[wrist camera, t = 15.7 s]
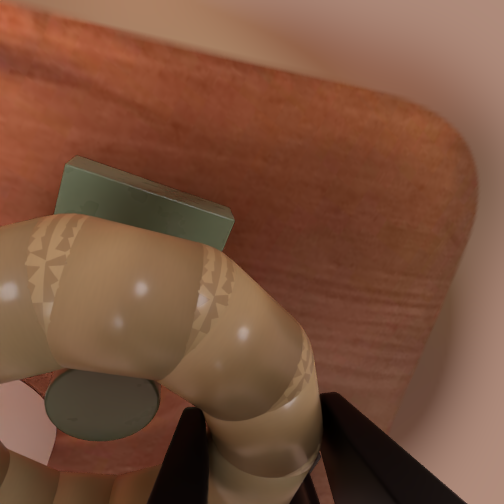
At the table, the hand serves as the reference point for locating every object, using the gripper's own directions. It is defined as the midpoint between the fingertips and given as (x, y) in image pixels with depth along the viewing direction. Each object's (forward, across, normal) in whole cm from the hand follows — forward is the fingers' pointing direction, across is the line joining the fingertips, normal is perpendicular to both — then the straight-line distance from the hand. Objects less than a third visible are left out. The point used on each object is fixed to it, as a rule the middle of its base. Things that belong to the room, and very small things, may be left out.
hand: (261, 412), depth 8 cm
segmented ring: (0, +3, 0) cm, 3 cm away
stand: (+9, +3, 0) cm, 9 cm away
